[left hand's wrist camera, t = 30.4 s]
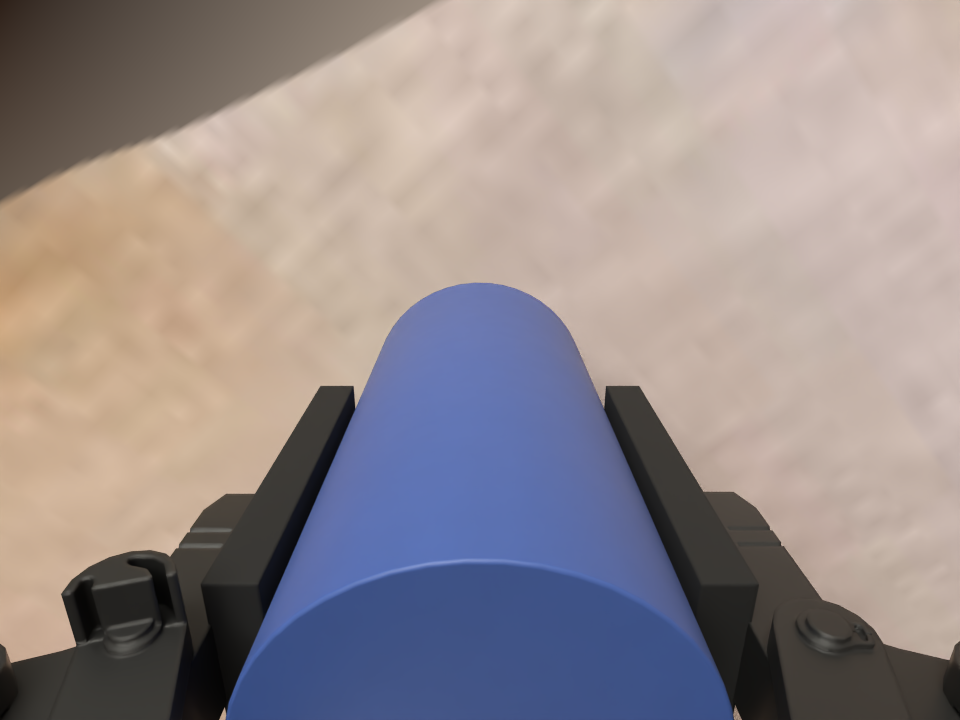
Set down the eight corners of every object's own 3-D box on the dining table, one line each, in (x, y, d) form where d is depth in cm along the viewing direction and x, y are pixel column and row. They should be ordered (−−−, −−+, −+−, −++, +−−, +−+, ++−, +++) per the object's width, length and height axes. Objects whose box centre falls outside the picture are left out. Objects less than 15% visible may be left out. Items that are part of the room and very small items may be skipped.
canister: (595, 291, 17) (797, 580, 6) (567, 477, 19) (681, 934, 8) (380, 273, 16) (202, 541, 6) (375, 463, 18) (237, 913, 8)
